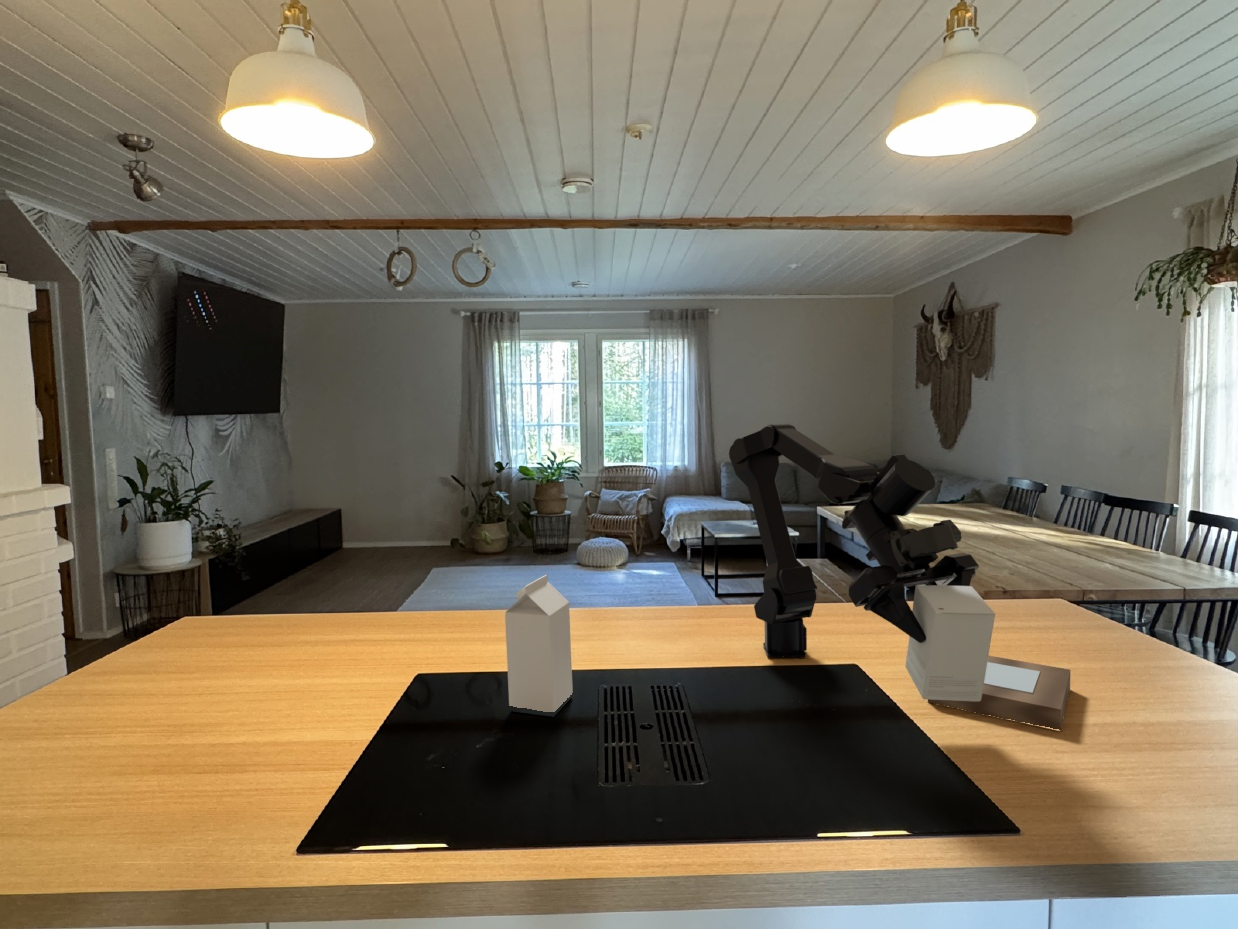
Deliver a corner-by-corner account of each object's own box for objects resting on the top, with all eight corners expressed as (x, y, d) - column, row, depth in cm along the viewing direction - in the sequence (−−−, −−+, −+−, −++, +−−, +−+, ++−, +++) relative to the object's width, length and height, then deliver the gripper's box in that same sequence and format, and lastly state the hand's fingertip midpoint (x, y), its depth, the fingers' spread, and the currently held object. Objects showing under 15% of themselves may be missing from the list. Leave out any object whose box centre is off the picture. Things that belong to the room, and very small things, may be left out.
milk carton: (573, 698, 102) (568, 575, 100) (553, 719, 95) (548, 587, 94) (531, 693, 104) (525, 573, 103) (509, 713, 97) (503, 585, 96)
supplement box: (982, 703, 84) (997, 614, 80) (921, 700, 85) (933, 612, 81) (960, 668, 91) (973, 584, 87) (903, 665, 92) (914, 583, 88)
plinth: (927, 702, 96) (927, 681, 96) (951, 667, 109) (952, 648, 109) (1060, 732, 87) (1060, 708, 86) (1070, 689, 99) (1070, 668, 99)
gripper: (864, 506, 85) (935, 615, 76) (968, 495, 93) (1043, 592, 84) (822, 555, 93) (882, 659, 84) (921, 541, 101) (985, 635, 92)
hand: (950, 635), depth 86 cm, fingers closed on supplement box, 9 cm apart
